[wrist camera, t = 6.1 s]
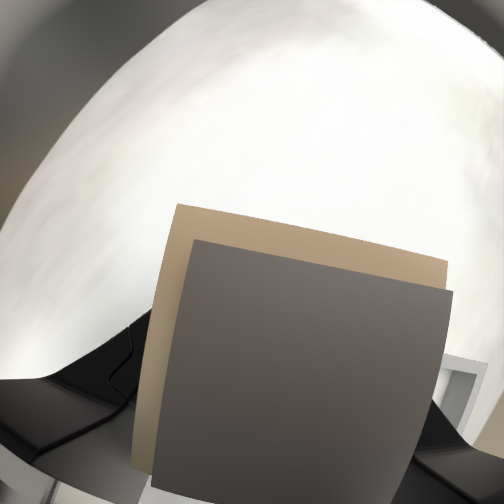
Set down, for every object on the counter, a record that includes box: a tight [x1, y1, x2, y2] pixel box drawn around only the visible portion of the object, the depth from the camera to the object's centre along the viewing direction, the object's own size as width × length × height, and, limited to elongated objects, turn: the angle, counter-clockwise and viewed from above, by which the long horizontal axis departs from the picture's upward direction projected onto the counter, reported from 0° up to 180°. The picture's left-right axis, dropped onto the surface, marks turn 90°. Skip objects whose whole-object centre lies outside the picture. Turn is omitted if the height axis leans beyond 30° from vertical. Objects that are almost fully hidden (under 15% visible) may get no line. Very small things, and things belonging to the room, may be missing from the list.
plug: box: [130, 204, 453, 504], centre depth 9 cm, size 4×4×13 cm
